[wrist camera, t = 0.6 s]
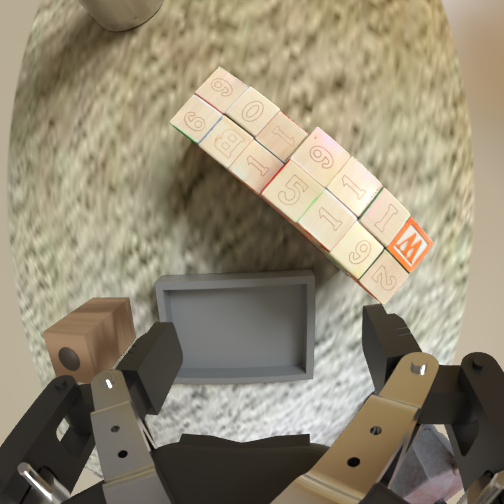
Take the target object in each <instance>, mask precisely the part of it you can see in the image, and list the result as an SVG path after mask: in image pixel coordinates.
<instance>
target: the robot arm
mask: <svg viewBox="0 0 504 504" xmlns="http://www.w3.org/2000/svg"><path fill="white" fill-rule="evenodd" d="M77 1H78V2H79V3H80V4H81V5H82V6H83V7H84V8H85V9H86V10H87V11H88V12H89V14H90V15H91V16H92V17H93V18H94V19H95V20H96V21H97V22H98V23H99V24H100V25H101V26H102V27H103V28H104V29H106V30H109V31H113V32H120V31H125V30H129V29H132V28H134V27H136V26H139V25H141V24H142V23H144V22H145V21H147V20H148V19H149V18H151V17H152V16H153V15H154V14H155V13H156V12H157V11H158V9H159V8H160V6H161V5H162V2H163V0H77ZM362 346H363V352H364V355H365V358H366V361H367V364H368V368H369V371H370V374H371V377H372V381H373V384H374V387H375V391H376V394H377V395H376V394H372V395H371V396H370V397H369V398H368V399H367V401H366V402H365V403H364V405H363V406H362V408H361V409H360V410H359V412H358V413H357V414H356V416H355V417H354V418H353V420H352V421H351V422H350V424H349V425H348V426H347V427H346V429H345V430H344V431H343V432H342V434H341V435H340V436H339V437H338V439H337V440H336V441H335V442H334V443H333V445H332V446H331V447H328V446H325V445H321V444H316V443H310V434H301V435H285V436H274V437H269V438H265V439H260V440H255V441H250V442H244V443H240V442H235V441H231V440H227V439H223V438H219V437H215V436H210V435H194V434H182V436H181V438H180V441H179V442H176V443H171V444H167V445H164V446H161V447H157V444H156V442H155V440H154V438H153V435H152V433H151V431H150V428H149V426H148V424H147V422H146V420H145V416H146V414H150V415H158V414H159V412H160V409H161V407H162V405H163V403H164V401H165V399H166V397H167V395H168V393H169V391H170V388H171V386H172V384H173V382H174V380H175V378H176V376H177V374H178V372H179V370H180V368H181V366H182V363H183V352H182V348H181V345H180V342H179V339H178V336H177V332H176V329H175V326H174V324H173V323H172V322H155V323H154V324H153V326H152V327H151V328H150V330H149V331H148V332H147V333H145V334H144V335H142V336H141V337H140V338H138V339H137V340H136V341H135V343H134V344H133V345H132V348H130V349H129V351H128V353H126V355H125V356H124V357H123V359H122V360H121V361H120V363H119V364H118V366H117V367H116V368H115V369H110V370H105V371H103V372H101V373H99V374H97V375H96V376H95V377H94V378H93V379H92V381H91V384H83V385H78V384H77V382H76V381H75V379H74V377H73V376H71V375H62V376H59V377H57V378H55V379H53V380H52V381H51V382H50V383H49V384H48V385H47V387H46V388H45V389H44V390H43V392H42V393H41V394H40V395H39V397H38V398H37V399H36V400H35V402H34V403H33V404H32V406H31V407H30V408H29V409H28V411H27V412H26V413H25V415H24V416H23V417H22V418H21V420H20V421H19V422H18V424H17V425H16V426H15V428H14V429H13V430H12V432H11V433H10V435H9V436H8V437H7V438H6V440H5V441H4V443H3V444H2V445H1V447H0V504H410V503H409V502H407V501H406V500H404V499H403V498H402V497H400V496H399V495H397V494H396V493H395V492H393V491H392V490H390V489H389V486H390V485H391V483H392V482H393V480H394V478H395V476H396V475H397V473H398V471H399V469H400V467H401V465H402V463H403V461H404V459H405V457H406V455H407V453H408V452H409V450H410V448H411V446H412V444H413V442H414V440H415V438H416V436H417V434H418V432H419V430H420V428H421V426H422V424H444V426H445V428H446V431H447V434H448V437H449V440H450V443H451V446H452V450H453V453H454V456H455V459H456V463H457V466H458V469H459V473H460V476H461V480H462V484H463V488H464V491H465V494H464V495H463V496H462V498H460V500H459V501H458V502H457V504H504V372H503V371H502V369H501V367H500V366H499V365H498V363H497V361H496V360H495V359H494V358H493V357H492V356H490V355H488V354H486V353H482V352H474V353H470V354H468V355H466V356H465V357H464V358H463V359H462V362H461V365H460V366H459V365H439V363H438V361H437V359H436V358H435V357H434V356H432V355H430V354H427V353H423V352H422V350H421V349H420V347H419V345H418V344H417V342H416V340H415V338H414V337H413V335H412V334H411V332H410V330H409V328H407V325H406V323H405V322H404V320H403V319H402V318H401V317H399V316H398V315H396V314H395V313H394V314H387V313H386V311H385V309H384V307H383V306H382V304H373V305H366V306H363V319H362ZM63 418H65V420H66V421H67V423H68V424H69V428H68V430H67V431H66V433H65V434H64V436H63V438H62V439H61V441H59V440H58V438H57V435H56V431H57V428H58V426H59V424H60V423H61V421H62V420H63ZM95 445H96V447H97V452H98V456H99V461H100V465H101V469H102V473H103V477H104V480H102V481H101V482H99V483H97V484H95V485H93V486H91V487H90V488H88V489H86V490H84V491H82V492H80V493H78V494H76V495H74V496H72V497H71V496H70V495H71V492H72V491H73V488H74V486H75V484H76V482H77V480H78V478H79V476H80V474H81V472H82V470H83V468H84V466H85V464H86V462H87V460H88V458H89V456H90V455H91V453H92V451H93V449H94V447H95Z"/></svg>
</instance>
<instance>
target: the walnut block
mask: <svg viewBox="0 0 504 504" xmlns="http://www.w3.org/2000/svg"><path fill="white" fill-rule="evenodd" d="M43 334H44V338H45V342H46V345H47V349H48V352H49V355H50V358H51V362H52V365H53V368H54V371H55V374H56V377H59V376H62V375H71V376H73V377H74V379H75V381H76V382H82V383H89V384H91V381H92V379H93V378H94V377H95V376H96V375H97V374H99V373H101V372H103V371H105V370H110V369H111V368H112V366H113V365H114V364H115V363H116V361H117V360H118V359H119V358H120V356H121V355H122V354H123V353H124V351H125V350H126V349H127V348H128V346H129V345H130V344H131V343H132V341H133V340H134V339H135V338H136V334H135V329H134V323H133V318H132V312H131V306H130V300H129V298H92V299H91V300H89V301H88V302H86V303H85V304H83V305H82V306H80V307H79V308H77V309H76V310H74V311H73V312H71V313H70V314H68V315H67V316H65V317H64V318H63V319H61V320H60V321H58V322H57V323H55V324H54V325H52V326H51V327H50V328H48V329H47V330H45V331H44V332H43Z"/></svg>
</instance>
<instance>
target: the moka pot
mask: <svg viewBox="0 0 504 504" xmlns="http://www.w3.org/2000/svg"><path fill="white" fill-rule="evenodd" d="M373 394H376V391H375V392H374V393H373ZM376 395H377V394H376ZM389 488H390V490H392V491H393V492H395V493H396V494H397V495H399V496H400V497H402V498H403V499H404V500H406V501H407V502H409V503H410V504H447V503H446V501H447V500H448V499H450V498H451V497H452V496H453V495H455V494H456V493H457V492H458V491H460V490H461V489H462V488H463V484H462V480H461V476H460V473H459V469H458V466H457V463H456V459H455V456H454V453H453V450H452V446H451V443H450V441H449V440H448V439H447V438H446V437H445V436H444V435H443V434H442V433H440V432H438V431H437V429H436V428H435V426H434V425H433V424H422V426H421V428H420V430H419V432H418V434H417V436H416V438H415V440H414V442H413V444H412V446H411V448H410V450H409V452H408V453H407V455H406V457H405V459H404V461H403V463H402V465H401V467H400V469H399V471H398V473H397V475H396V476H395V478H394V480H393V482H392V483H391V485H390V486H389Z"/></svg>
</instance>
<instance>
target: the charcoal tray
mask: <svg viewBox="0 0 504 504" xmlns="http://www.w3.org/2000/svg"><path fill="white" fill-rule="evenodd" d="M155 291H156V299H157V306H158V313H159V319H160V322H172V323H173V324H174V326H175V329H176V332H177V336H178V339H179V342H180V345H181V348H182V352H183V363H182V366H181V368H180V370H179V372H178V374H177V376H176V378H175V380H174V382H173V383H180V384H244V383H267V382H283V381H296V380H307V379H313V368H314V338H315V275H314V273H313V272H312V271H311V270H310V269H295V270H277V271H257V272H237V273H215V274H191V275H164V276H161V277H160V278H159V279H158V280H157V281H156V282H155Z"/></svg>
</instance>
